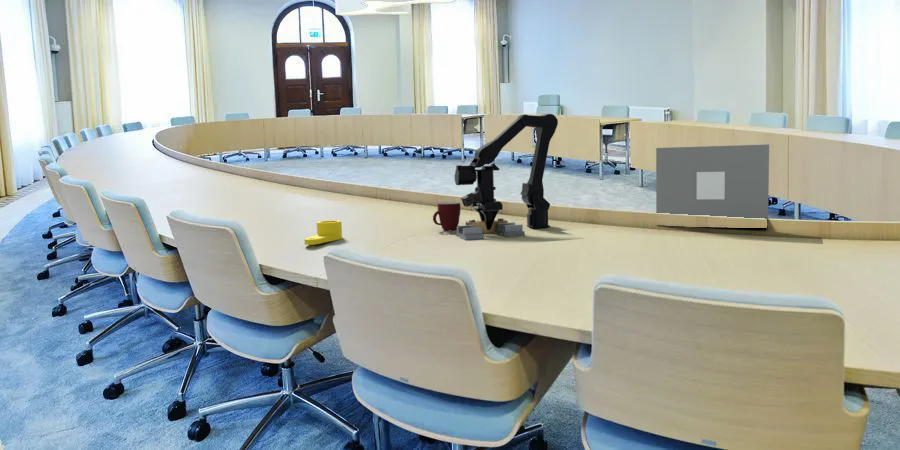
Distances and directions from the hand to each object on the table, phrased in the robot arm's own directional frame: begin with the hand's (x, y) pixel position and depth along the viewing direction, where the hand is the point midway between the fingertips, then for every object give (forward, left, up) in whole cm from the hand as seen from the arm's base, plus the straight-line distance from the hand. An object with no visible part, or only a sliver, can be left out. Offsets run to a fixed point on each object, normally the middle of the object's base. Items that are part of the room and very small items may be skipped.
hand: (486, 229), depth 239 cm
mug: (+12, -9, -1) cm, 15 cm away
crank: (+56, -8, -2) cm, 56 cm away
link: (0, 0, -1) cm, 1 cm away
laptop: (-78, +16, -2) cm, 79 cm away
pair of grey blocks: (+2, +10, -1) cm, 10 cm away
